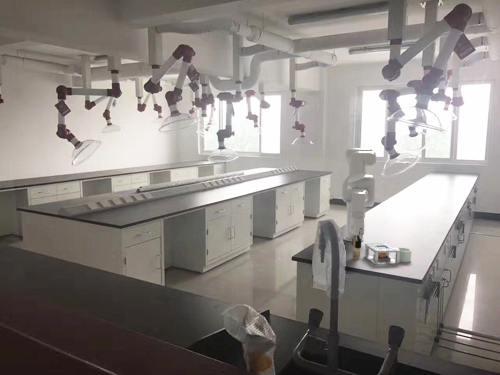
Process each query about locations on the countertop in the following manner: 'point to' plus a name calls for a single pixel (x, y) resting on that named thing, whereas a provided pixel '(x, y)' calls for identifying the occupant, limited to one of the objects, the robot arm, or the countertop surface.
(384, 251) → the breaker guard
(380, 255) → the breaker plunger
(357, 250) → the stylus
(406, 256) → the holder
